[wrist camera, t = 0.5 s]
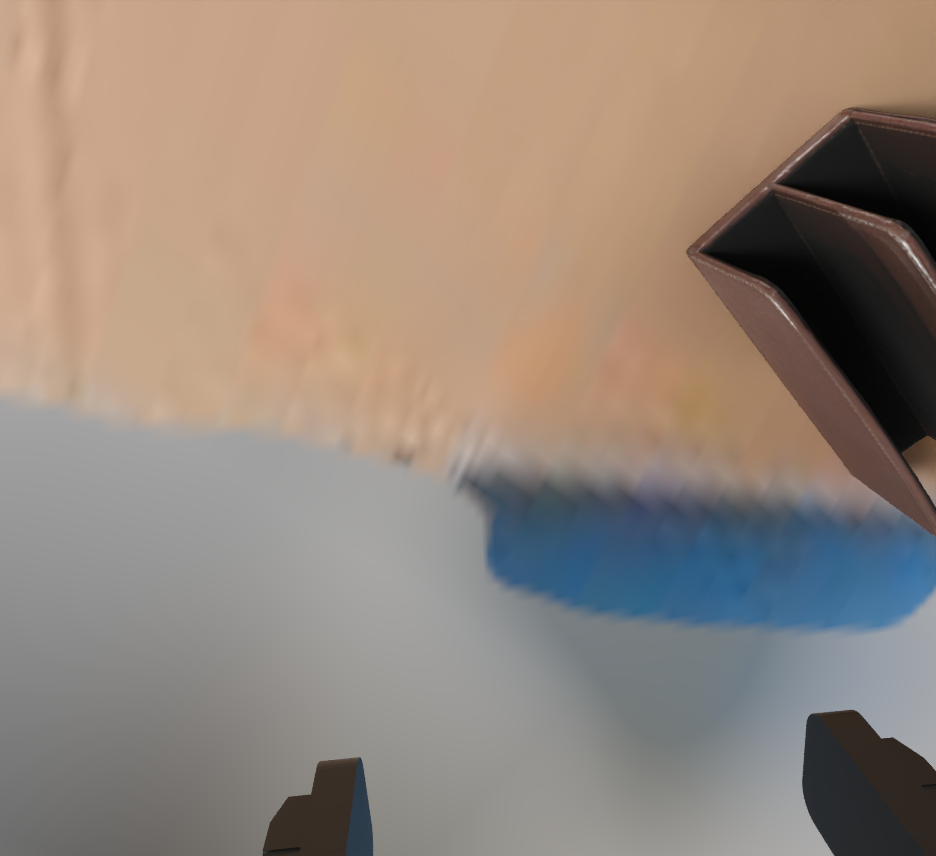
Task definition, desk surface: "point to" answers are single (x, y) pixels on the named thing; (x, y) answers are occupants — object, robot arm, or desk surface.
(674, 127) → the desk surface
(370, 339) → the desk surface
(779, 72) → the desk surface
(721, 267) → the letter holder
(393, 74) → the desk surface
